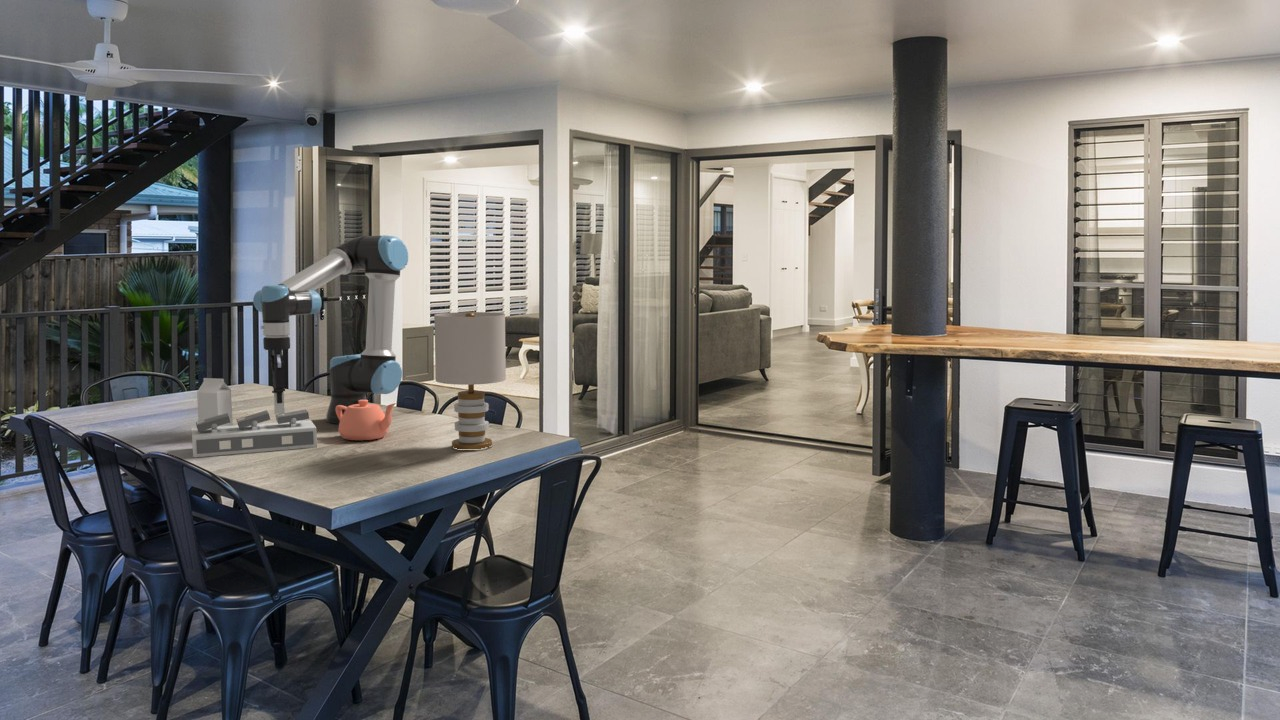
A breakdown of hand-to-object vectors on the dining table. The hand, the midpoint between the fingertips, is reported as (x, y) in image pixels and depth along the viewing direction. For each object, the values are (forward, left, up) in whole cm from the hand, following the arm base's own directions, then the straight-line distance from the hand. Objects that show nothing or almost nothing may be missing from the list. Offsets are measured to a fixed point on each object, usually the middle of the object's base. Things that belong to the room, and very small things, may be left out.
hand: (279, 413), depth 283 cm
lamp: (-52, +27, -10) cm, 60 cm away
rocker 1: (+18, 0, -2) cm, 18 cm away
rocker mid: (+7, 0, -2) cm, 8 cm away
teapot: (-26, -1, -10) cm, 28 cm away
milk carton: (+17, -22, -10) cm, 30 cm away
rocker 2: (-4, 0, -2) cm, 4 cm away
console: (+7, 0, -10) cm, 12 cm away
